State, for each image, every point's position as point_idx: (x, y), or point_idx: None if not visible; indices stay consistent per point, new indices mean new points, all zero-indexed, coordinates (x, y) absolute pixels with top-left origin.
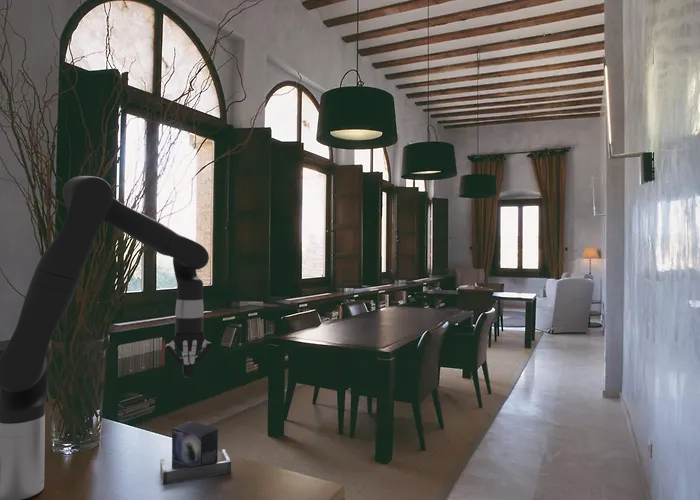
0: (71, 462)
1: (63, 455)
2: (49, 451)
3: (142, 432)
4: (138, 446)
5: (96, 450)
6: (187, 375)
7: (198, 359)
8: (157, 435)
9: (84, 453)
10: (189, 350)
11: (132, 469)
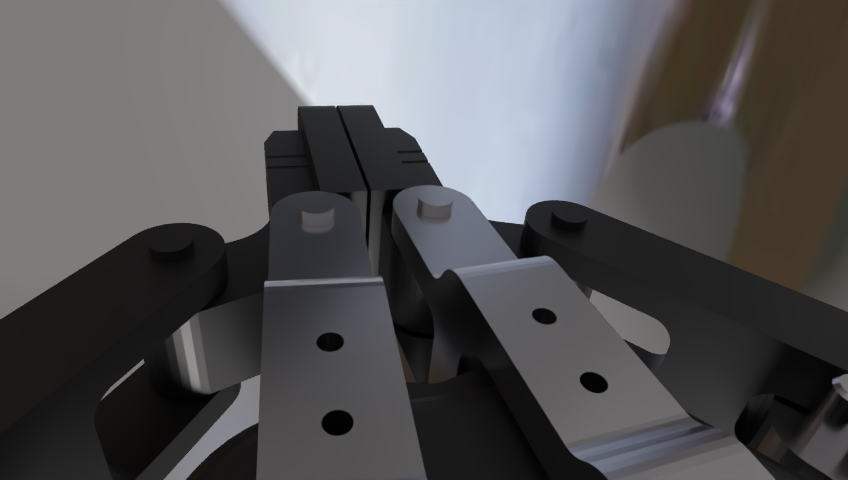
0: (742, 22)
1: (736, 108)
2: (754, 164)
3: None
4: (489, 95)
5: (636, 114)
6: (355, 111)
7: (181, 240)
8: None
9: (678, 100)
10: (437, 395)
11: None
